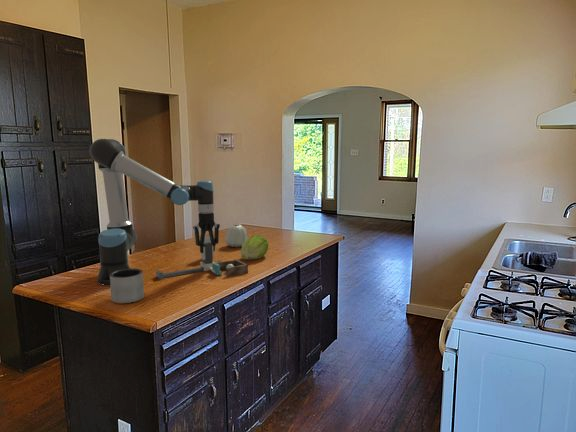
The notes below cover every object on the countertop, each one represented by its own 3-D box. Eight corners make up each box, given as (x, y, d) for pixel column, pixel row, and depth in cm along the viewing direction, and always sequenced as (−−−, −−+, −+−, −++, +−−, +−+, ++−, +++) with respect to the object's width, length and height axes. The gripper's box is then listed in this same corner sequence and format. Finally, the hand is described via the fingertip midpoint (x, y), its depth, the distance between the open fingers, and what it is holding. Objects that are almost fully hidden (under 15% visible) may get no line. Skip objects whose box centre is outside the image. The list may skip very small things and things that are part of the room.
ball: (227, 267, 203) (234, 263, 204) (223, 265, 206) (230, 261, 208) (229, 274, 204) (236, 270, 206) (226, 272, 207) (233, 268, 209)
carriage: (212, 276, 198) (212, 249, 196) (200, 268, 211) (199, 243, 208) (224, 274, 201) (223, 247, 199) (211, 266, 214) (210, 241, 212)
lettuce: (228, 251, 223) (246, 240, 217) (246, 238, 243) (264, 228, 237) (241, 272, 224) (260, 261, 218) (258, 257, 243) (276, 247, 237)
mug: (207, 261, 226) (206, 239, 224) (198, 259, 230) (197, 238, 228) (220, 257, 234) (219, 236, 232) (211, 255, 238) (210, 235, 236)
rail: (159, 279, 194) (159, 273, 194) (156, 276, 198) (155, 270, 198) (224, 268, 213) (224, 262, 212) (220, 266, 217) (220, 260, 216)
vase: (244, 243, 269) (244, 222, 267) (249, 247, 256) (249, 226, 254) (223, 244, 265) (223, 223, 263) (227, 249, 252) (227, 227, 250)
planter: (104, 302, 165) (102, 275, 164) (126, 292, 177) (125, 267, 175) (129, 306, 161) (127, 278, 159) (151, 296, 173) (149, 270, 171)
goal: (227, 276, 198) (227, 268, 198) (216, 270, 209) (216, 262, 208) (248, 272, 205) (247, 264, 204) (236, 266, 215) (236, 259, 214)
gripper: (192, 214, 198) (194, 262, 202) (224, 211, 207) (226, 257, 211) (187, 212, 204) (189, 259, 208) (218, 209, 213) (220, 254, 217)
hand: (207, 258), depth 209 cm, fingers closed on carriage, 4 cm apart
